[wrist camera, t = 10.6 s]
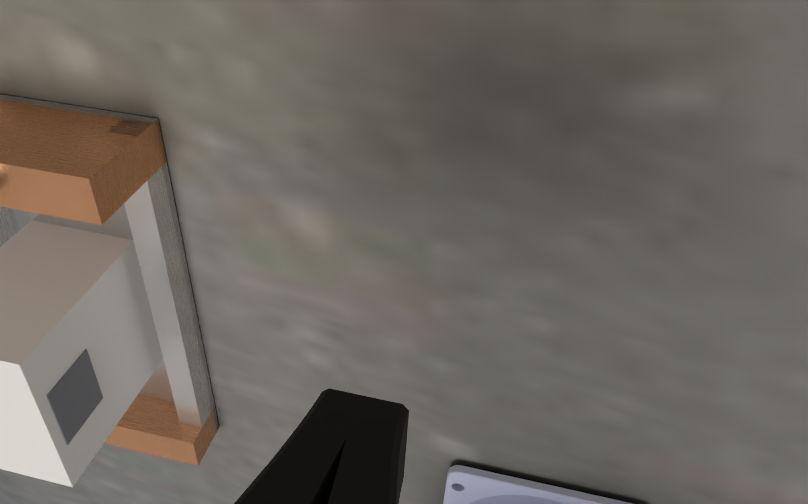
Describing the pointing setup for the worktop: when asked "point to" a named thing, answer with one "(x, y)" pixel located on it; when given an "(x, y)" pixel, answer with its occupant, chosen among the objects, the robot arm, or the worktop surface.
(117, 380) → the block
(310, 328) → the worktop surface
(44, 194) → the rail
